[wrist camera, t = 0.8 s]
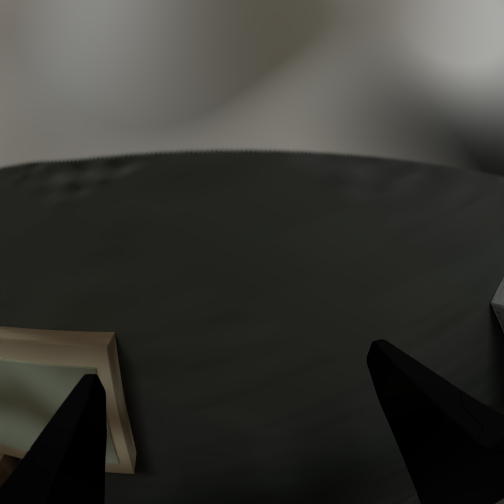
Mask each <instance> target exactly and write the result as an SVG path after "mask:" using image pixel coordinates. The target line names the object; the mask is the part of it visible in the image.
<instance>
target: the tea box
mask: <svg viewBox="0 0 504 504" xmlns="http://www.w3.org/2000/svg"><path fill="white" fill-rule="evenodd" d="M491 305H492V307H493V310H494V312H495V314H496V316H497V318H498V321H499V323H500V325H501V328H502V330H503V333H504V277H503V279H502V281H501V283H500V285H499V287H498V289H497V291H496V293H495V295H494V297H493V298H492V301H491Z"/></svg>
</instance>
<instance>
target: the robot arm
mask: <svg viewBox="0 0 504 504" xmlns="http://www.w3.org/2000/svg"><path fill="white" fill-rule="evenodd" d="M367 365H368V368H369V371H370V374H371V377H372V380H373V384H374V387H375V390H376V393H377V396H378V399H379V402H380V404H381V407H382V409H383V411H384V413H385V416H386V418H387V420H388V423H389V425H390V427H391V430H392V432H393V435H394V437H395V439H396V442H397V444H398V446H399V449H400V451H401V454H402V456H403V459H404V461H405V464H406V466H407V469H408V471H409V474H410V476H411V479H412V481H413V484H414V486H415V489H416V491H417V495H418V497H419V500H420V503H421V504H504V414H502V413H500V412H498V411H496V410H494V409H492V408H490V407H488V406H487V405H485V404H483V403H481V402H479V401H478V400H476V399H474V398H473V397H471V396H470V395H468V394H467V393H465V392H464V391H462V390H460V389H459V388H457V387H456V386H454V385H453V384H451V383H450V382H448V381H447V380H445V379H444V378H442V377H441V376H439V375H438V374H436V373H435V372H433V371H432V370H430V369H429V368H427V367H425V366H424V365H422V364H421V363H419V362H418V361H416V360H415V359H413V358H412V357H410V356H409V355H407V354H406V353H404V352H403V351H401V350H400V349H398V348H397V347H395V346H394V345H392V344H391V343H389V342H388V341H386V340H384V339H381V340H377V341H373V342H372V344H371V347H370V350H369V352H368V355H367ZM106 446H107V417H106V391H105V388H104V386H103V385H102V383H101V381H100V379H99V377H98V375H96V374H85V375H83V377H82V378H81V379H80V380H79V382H78V383H77V384H76V386H75V387H74V388H73V390H72V391H71V392H70V394H69V395H68V396H67V398H66V399H65V400H64V402H63V403H62V404H61V406H60V407H59V408H58V410H57V411H56V412H55V414H54V415H53V417H52V418H51V419H50V421H49V422H48V423H47V425H46V426H45V428H44V429H43V430H42V432H41V433H40V435H39V436H38V437H37V439H36V440H35V442H34V443H33V445H32V446H31V447H30V450H28V452H27V453H26V454H25V456H24V457H23V459H22V460H21V462H20V463H19V464H18V466H17V467H16V468H15V470H14V471H13V472H12V473H11V475H10V476H9V477H8V478H7V479H6V481H5V482H4V483H3V484H2V485H1V486H0V504H104V496H105V463H106Z"/></svg>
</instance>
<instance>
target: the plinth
mask: <svg viewBox="0 0 504 504" xmlns="http://www.w3.org/2000/svg"><path fill="white" fill-rule="evenodd" d="M85 374H96V375H98V377H99V379H100V381H101V383H102V385H103V386H104V388H105V391H106V417H107V446H106V463H105V472H113V473H128V474H134V470H135V461H136V453H137V452H136V448H135V444H134V440H133V435H132V431H131V427H130V422H129V417H128V412H127V407H126V402H125V397H124V391H123V386H122V380H121V374H120V367H119V361H118V354H117V346H116V338H115V332H84V331H60V330H42V329H27V328H15V327H3V326H0V453H3V454H6V455H10V456H14V457H18V458H22V459H23V457H24V456H25V454H26V453H27V452H28V450H30V447H31V446H32V445H33V443H34V442H35V440H36V439H37V437H38V436H39V435H40V433H41V432H42V430H43V429H44V428H45V426H46V425H47V423H48V422H49V421H50V419H51V418H52V417H53V415H54V414H55V412H56V411H57V410H58V408H59V407H60V406H61V404H62V403H63V402H64V400H65V399H66V398H67V396H68V395H69V394H70V392H71V391H72V390H73V388H74V387H75V386H76V384H77V383H78V382H79V380H80V379H81V378H82V377H83V375H85Z"/></svg>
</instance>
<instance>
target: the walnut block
mask: <svg viewBox="0 0 504 504" xmlns="http://www.w3.org/2000/svg"><path fill="white" fill-rule="evenodd" d="M17 466H18V462H17V460H16V458H15V457H14V456H10V455H6V454H3V453H0V486H1V485H2V484H3V483H4V482H5V481H6V479H7V478H8V477H9V476H10V475H11V473H12V472H13V471H14V470H15V468H16V467H17Z"/></svg>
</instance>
